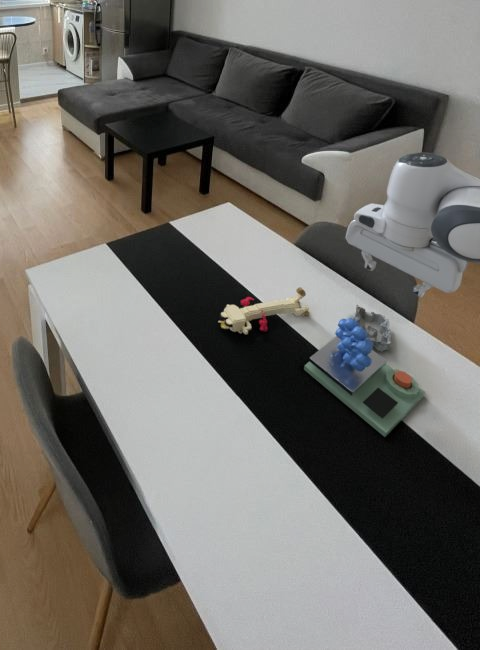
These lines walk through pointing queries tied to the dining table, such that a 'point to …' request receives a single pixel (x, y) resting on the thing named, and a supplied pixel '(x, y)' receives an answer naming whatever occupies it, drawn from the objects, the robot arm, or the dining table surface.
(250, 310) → the beige blocky toy
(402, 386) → the button
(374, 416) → the scale
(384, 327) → the egg carton
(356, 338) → the grapes
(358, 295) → the dining table surface
